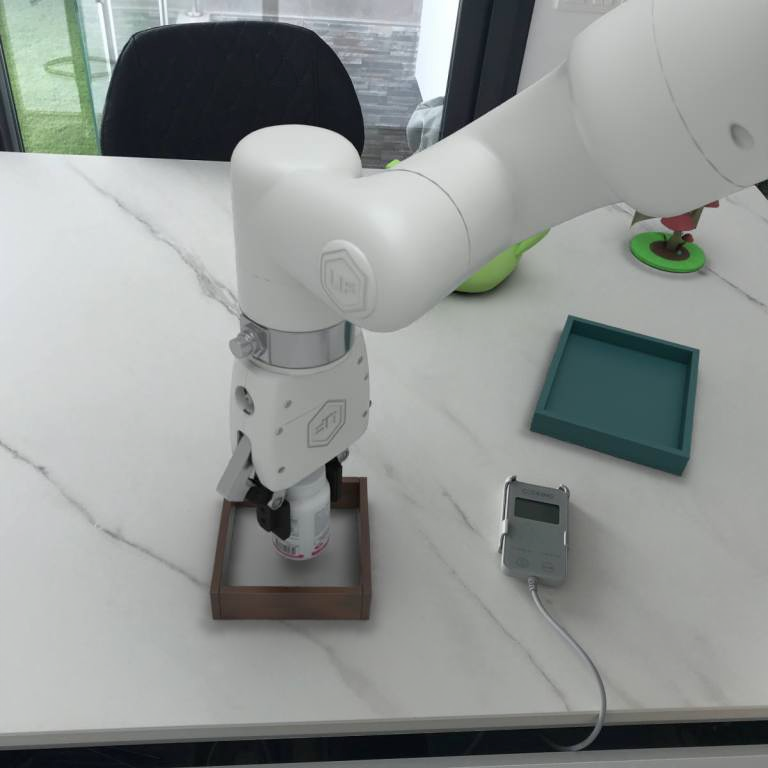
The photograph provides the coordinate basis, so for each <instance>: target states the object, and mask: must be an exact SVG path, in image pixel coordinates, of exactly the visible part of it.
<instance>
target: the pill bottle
mask: <svg viewBox="0 0 768 768" xmlns="http://www.w3.org/2000/svg"><path fill="white" fill-rule="evenodd" d="M284 498H285V499H286V500H287V501H288V502H289V503H290V518H291V534H290V537H289V538H288V539H286V540H285V541H283V540H281V539H280V538H279V537H278V536H276V535H275V534H274V533H273V532H272V531H271V540H272V541H271V542H272V544H273V547H274V549H275V550H276V551H277V552H278V554H280V556H282V557H284V558H286V559H289V560H292V561H306V560H311V559H314V558H315V557H318V556H319V555H320V554H322V553H323V552H324V551H325V549H326V548H327V547H328V544H329V542H330V541H329V540H330V536H331V535H330V533H331V531H330V530H331V508H330V486H329V482H328V480H327V479H326V473H325V464H324V465H323V466H321V467H320V468H318V469H317V470H315V471H314V472H312V473H311V474H310V475H308V476H307V477H305V478H304V479H302V480H301V481H299V482H298V483H296V484H294V485H293V486H291V487H289V488H287V489H286V492H285V497H284Z"/></svg>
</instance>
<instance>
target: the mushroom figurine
mask: <svg viewBox="0 0 768 768" xmlns="http://www.w3.org/2000/svg"><path fill="white" fill-rule="evenodd" d="M705 208H711V209H718V208H720V199H719V200H716V201H714V202H711V203H709V204H707V205H704V206H702V207H700V208H697V209H695V210H692V211H689V212H687V213H684V214H681V215H678V216H674V217H667V218H660V220H659V221H660V223H661V225H663V226H664V227H665V228H666V229H668V230H671V231H673V233H668V232H663V231H646V232H641V233H639V234H636V235H635V236H633V238H632V239H631V240H630V244H629V247H630V251H631V253H632V254H633V255H634V256H635V257H636V258H637V259H638V260H640V262H643V263H644V264H646V265H648V266H651V267H653V268H655V269H658V270H662V271H666V272H673V273H689V272H690V273H691V272H694V271H697V270H699V269H701V268H702V267H703V266H704V264H705V261H706V254H705V252H704V251H703V249H702V248H701V247H700V246H698V245H697V244H696V243H694V236H693V234H691V233H690V231H693V230H696V229H697V227H698V224H699V221H700V219H701V216H702V214H703V211H704V209H705ZM651 219H652V220H653V219H657V218H656V217H651V216H647V215H644V214H641V213H639V212H637V211H636V210H634V215H633V218H632V220H631V224H630V227H629V229H631V228H632V227H633V226H634V225H635V224H637V223H639V222H642V221H647V220H648V221H649V220H651ZM684 232H687V233H684Z"/></svg>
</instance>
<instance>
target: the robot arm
mask: <svg viewBox="0 0 768 768" xmlns="http://www.w3.org/2000/svg"><path fill="white" fill-rule="evenodd" d="M400 161H401V162H400V163H398V164H396V165H394V166H392V167H390V168H389V169H387V170H385V169H384V170H383V171H381V172H380V173H375V174H369V175H367V176H363V165H362V160H361V157H360V155H359V152H358V150H357V149H356V147H355V146H354V145H353V143H352V142H351V141H349V140H348V139H347V138H346V137H344V136H343V135H342V134H340V133H338V132H336V131H333V130H331V129H327V128H324V127H319V126H313V125H308V124H307V125H306V124H280V125H271V126H266V127H263V128H260V129H257V130H255V131H252V132H250V133H249V134H247V135H246V136H244V137H243V138H242V139H241V140H239V142H238V143H237V144H236V146H235V148H233V152H232V154H231V156H230V163H229V181H230V195H231V211H232V212H231V213H232V225H233V241H234V255H235V269H236V270H235V271H236V285H237V297H238V314H239V315H238V316H239V330H240V331H239V333H237V335H236V337H234V338H232V339H230V340H229V342H228V347H229V350H230V352H231V354H232V355H233V356H234V358H233V364H232V371H231V373H232V374H231V378H230V379H231V380H230V390H229V406H228V407H229V410H228V411H229V412H228V413H229V416H228V419H229V422H228V423H229V440H230V449H231V454H232V456H231V458H230V459H229V461H228V464H227V466H226V468H225V470H224V472H223V474H222V475H221V477H220V480H219V482H218V484H217V485H216V492H217V494H219V495H220V496H221V497H222V498H223V499H224V498H225V499H226V500H228V501H230V502H244V501H249V502H250V503H254V504H256V507H255V511H256V521H257V523H258V525H259V526H260V527H261V528H262V529H263V530H264V531H265V532H266V533H272V532H273V533H274V534H275V535H276V536H278V537H279V538H280V539H281V540H283V541H285V540H286V539H288V538H289V537H290V534H291V518H290V503H289V502H288V501H287V500H286V499H285V498H284V497H285V492H286V489H287V488H289V487H291V486H293V485H294V484H296V483H298V482H299V481H301V480H302V479H304V478H305V477H307V476H308V475H310V474H311V473H312V472H314V471H315V470H317V469H318V468H320V467H321V466H323V465H324V464H325V473H326V479H327V480H328V482H329V486H330V501H332V502H337V501H338V500H340V499H341V494H342V477H343V469H344V468H343V467H344V466H343V465H342V464H343V463H344V462H346V461H347V459H348V458H349V456H350V449H349V447H351V446H352V445H354V444H355V443H356V442H357V441H359V440H360V439H361V437H363V435H364V434H365V433H366V431H367V430H368V425H369V422H370V421H369V420H370V408H371V407H372V404H373V403H372V400H371V395H370V394H371V393H370V391H371V389H370V386H371V385H370V384H371V383H370V368H369V366H370V365H369V358H368V352H367V351H368V350H367V346H366V341H365V337H364V333H363V330H365V331H369V332H373V333H381V334H386V333H394V332H398V331H400V330H402V329H405V328H408V327H409V326H411V325H412V324H414V323H415V322H418V320H419V319H421V318H422V317H423V316H424V315H426V314H427V313H429V312H430V311H431V310H432V309H434V308H435V307H437V306H438V304H440V303H441V302H442V301H443V300H444V299H446V298H447V297H448V296H449V295H450V294H452V293H453V292H454V291H456V290H455V289H456V288H457V287H458V286H460V285H461V284H462V283H463V282H465V281H466V280H467V279H468V278H470V277H471V276H472V275H473V274H475V273H476V272H477V271H478V270H479V269H481V268H482V267H483V266H485V265H486V264H487V263H489V262H490V261H491V260H493V259H494V258H495V257H497V256H498V255H499V254H501V253H502V252H504V251H505V250H507V249H509V248H510V247H512V246H514V245H516V244H518V243H520V242H522V241H524V240H526V239H528V238H530V237H532V236H534V235H537V234H539V233H541V232H543V231H546V230H548V229H550V228H551V229H552V228H554V227H556V226H559V225H561V224H563V223H565V222H568V221H570V220H572V219H576V218H577V217H580V216H582V215H584V214H587V213H591V212H592V211H596V210H599V209H602V208H604V207H608V206H611V205H616V204H621V203H624V204H625V205H627V206H628V207H630V208H631V209H632V210H634V211H637V212H639V213H641V214H644V215H647V216H651V217H656V218H655V219H661V218H667V217H674V216H678V215H681V214H684V213H687V212H689V211H692V210H695V209H697V208H700V207H702V206H704V205H707V204H709V203H711V202H714V201H716V200H719V201H720V200H721V199H723V198H726V197H728V196H731V195H733V194H734V195H735V194H736V193H739V192H741V191H743V190H746V189H749V188H751V187H753V186H754V185H757V184H760V183H761V182H764V181H766V180H768V0H625V1H624V2H622V3H621V4H619V5H617V6H616V7H614V8H613V9H611V10H609V11H608V12H607V13H606V12H605V14H603V15H601V16H600V17H599V18H597V19H595V20H594V21H593V22H591V23H590V24H589V25H587V26H586V28H584V29H583V30H582V31H581V32H580V33H579V34H578V35H577V36H576V37H575V38H574V39H573V40H572V41H571V43H570V45H569V48H568V52H567V55H566V57H565V59H563V61H561V63H560V64H558V66H555V68H554V69H552V70H551V71H549V72H548V73H547V74H546V75H544V76H543V77H541V78H540V79H538V80H537V81H535V82H534V83H532V84H531V85H529V86H528V87H526V88H525V89H523V90H521V91H520V92H519V93H517V94H515V95H514V96H511V97H510V98H509V99H507V100H506V101H505V102H503V103H501V104H500V105H497V106H496V107H495V108H492V110H489V111H487V113H485V114H483V115H482V116H480V117H478V118H476V119H475V120H473V121H472V122H470V123H468V124H467V125H465V126H463V127H462V128H460V129H458V130H456V131H455V132H453V133H451V134H450V135H448V136H446V137H444V138H442V139H441V140H439V141H437V142H436V143H434V144H432V145H431V146H428V147H426V148H425V149H422V150H420V151H418V152H417V153H414V154H412V155H411V156H408V157H407V158H405V159H403V160H400ZM551 229H550V230H551ZM362 329H363V330H362Z"/></svg>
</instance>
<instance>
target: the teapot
mask: <svg viewBox="0 0 768 768" xmlns="http://www.w3.org/2000/svg"><path fill="white" fill-rule="evenodd" d="M401 161H402V160H399V159H397V158H395V159H393V160H392V161H391V162H389V163H388V164H386V165H385V169H384V171H385V170H387V169H389V168H390V167H392V166H394V165H396V164H398V163H400V162H401ZM551 230H552V228H550V229H548V230H546V231H543V232H541V233H539V234H537V235H534V236H532V237H530V238H528V239H526V240H524V241H522V242H520V243H518V244H516V245H514V246H512V247H510V248H509V249H507V250H505V251H504V252H502V253H501V254H499V255H498V256H497V257H495V258H494V259H493V260H491V261H490V262H489V263H487V264H486V265H485V266H483V267H482V268H481V269H479V270H478V271H477V272H476V273H475V274H473V275H472V276H471V277H470V278H468V279H467V280H466V281H465V282H463V283H462V284H461V285H460V286H458V287H457V288H456V289H455V290H454V291H457V292H463V293H484V292H488V291H490V290H493V289H494V288H495V287H497V286H498V285H499V284H500V283H501V282H503V281H504V280H505V279H506V278H507V277H508V276H509V275H510V274H512V273H513V271H514V270H515V269H516V267H517V266H518V264H519V262H520V260H521V258H522V256H523V254H525V253H526V252H528V251H529V250H530V249H532V248H533V247H534V246H536V245H537V244H538V243H539V242H540V241H542V240H543V239H545V237H546V236H547V235H548V234H549V232H550V231H551Z"/></svg>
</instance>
